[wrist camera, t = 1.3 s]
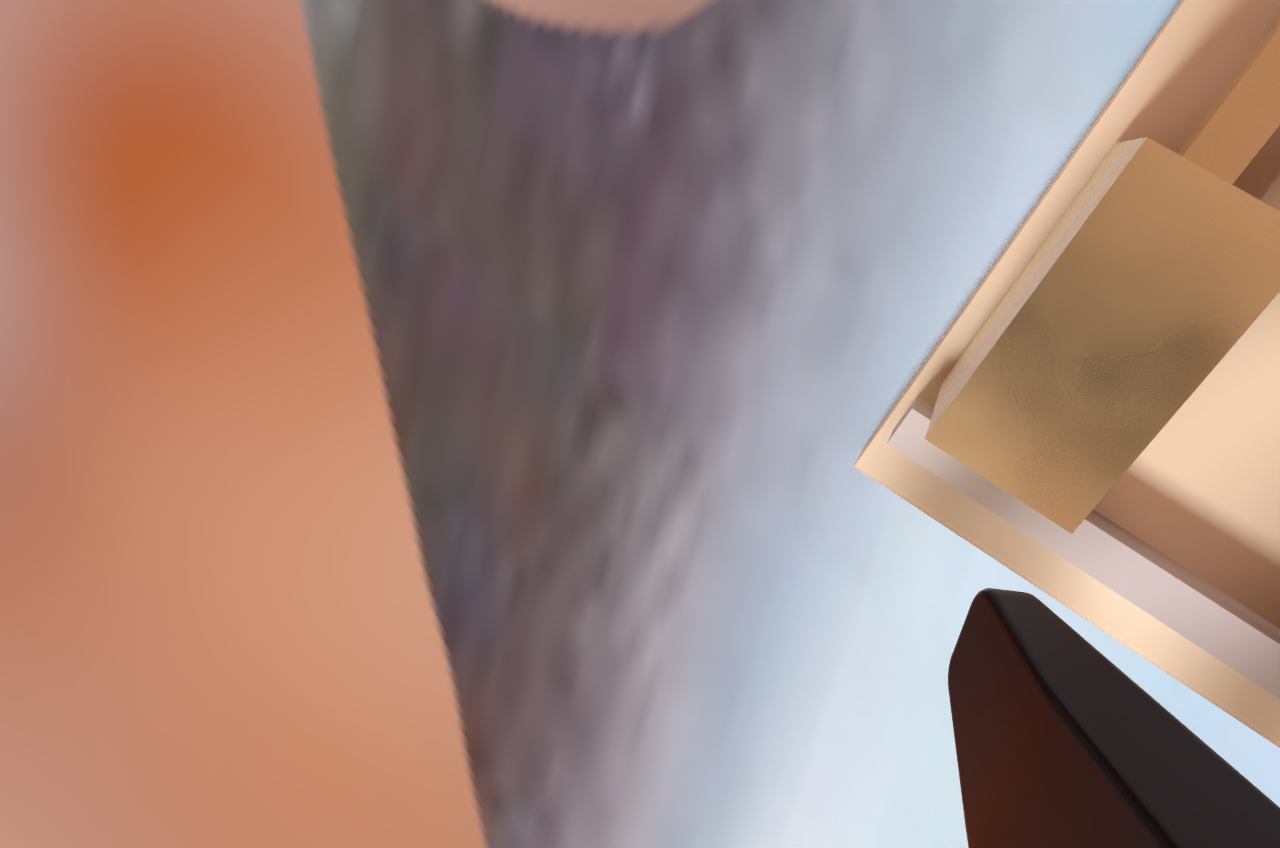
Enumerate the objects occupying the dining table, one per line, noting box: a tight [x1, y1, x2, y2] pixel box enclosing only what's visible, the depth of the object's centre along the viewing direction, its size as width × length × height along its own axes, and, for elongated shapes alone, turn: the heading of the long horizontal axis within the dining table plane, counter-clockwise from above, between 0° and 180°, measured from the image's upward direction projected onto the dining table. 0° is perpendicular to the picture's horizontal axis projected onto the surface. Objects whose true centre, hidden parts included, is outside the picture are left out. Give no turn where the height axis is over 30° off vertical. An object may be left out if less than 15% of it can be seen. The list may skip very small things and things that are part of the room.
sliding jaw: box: [925, 18, 1280, 534], centre depth 17 cm, size 3×10×5 cm, turn 151°
